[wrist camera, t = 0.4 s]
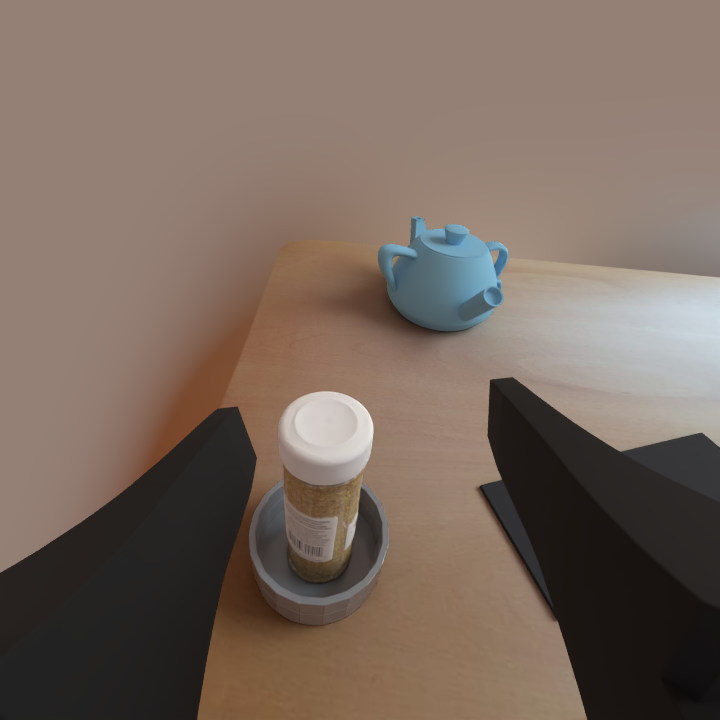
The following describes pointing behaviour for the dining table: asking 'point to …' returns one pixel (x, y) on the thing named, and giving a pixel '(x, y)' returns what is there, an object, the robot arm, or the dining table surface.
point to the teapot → (443, 277)
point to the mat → (670, 458)
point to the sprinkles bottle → (322, 480)
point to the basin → (303, 596)
